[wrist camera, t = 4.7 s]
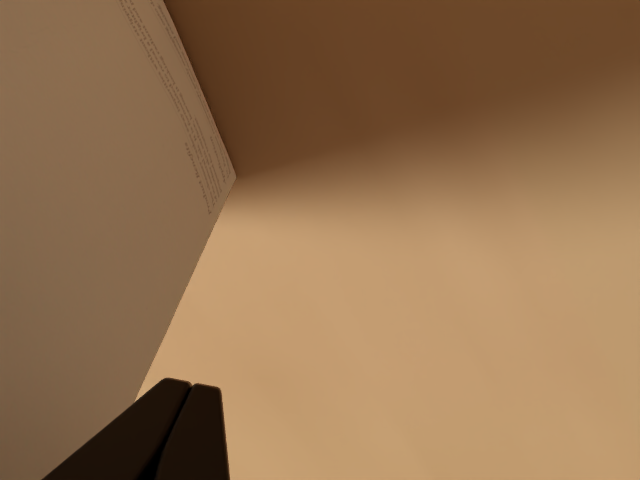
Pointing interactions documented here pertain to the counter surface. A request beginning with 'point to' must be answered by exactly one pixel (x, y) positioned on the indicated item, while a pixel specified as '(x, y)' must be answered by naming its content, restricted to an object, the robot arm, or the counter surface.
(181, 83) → the skincare box
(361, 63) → the counter surface
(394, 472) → the counter surface
